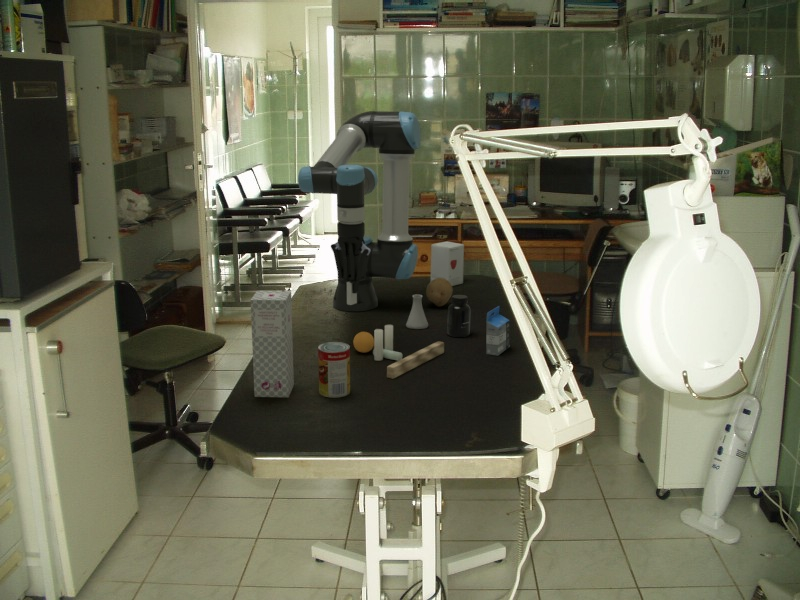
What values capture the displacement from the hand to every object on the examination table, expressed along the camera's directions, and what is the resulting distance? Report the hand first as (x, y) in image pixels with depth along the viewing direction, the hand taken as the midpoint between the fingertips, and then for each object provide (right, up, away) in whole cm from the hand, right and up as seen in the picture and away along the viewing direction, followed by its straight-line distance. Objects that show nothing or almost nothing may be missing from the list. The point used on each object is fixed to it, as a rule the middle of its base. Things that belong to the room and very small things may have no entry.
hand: (351, 303), depth 250 cm
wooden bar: (+18, -17, -8) cm, 26 cm away
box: (-18, -22, -28) cm, 40 cm away
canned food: (-3, -22, -28) cm, 36 cm away
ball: (+3, -11, +1) cm, 12 cm away
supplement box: (+31, +7, +79) cm, 85 cm away
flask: (+19, -8, +26) cm, 33 cm away
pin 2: (+11, -15, 0) cm, 18 cm away
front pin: (+7, -14, -1) cm, 15 cm away
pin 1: (+8, -16, -4) cm, 18 cm away
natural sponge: (+27, -2, +48) cm, 55 cm away
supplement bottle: (+32, -10, +18) cm, 38 cm away
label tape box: (+42, -14, +4) cm, 44 cm away
